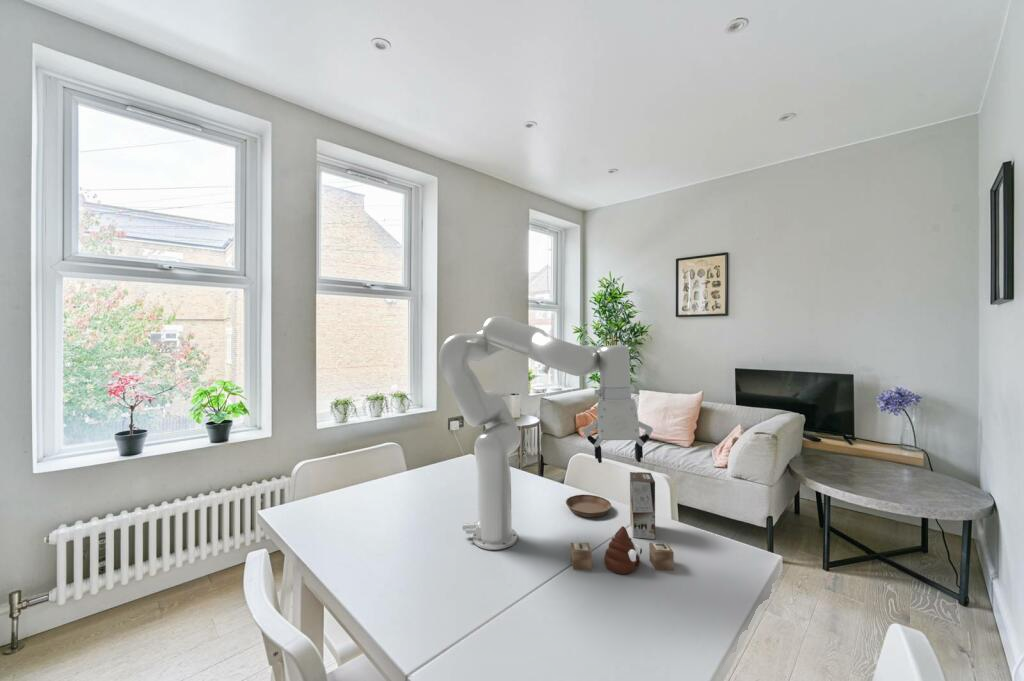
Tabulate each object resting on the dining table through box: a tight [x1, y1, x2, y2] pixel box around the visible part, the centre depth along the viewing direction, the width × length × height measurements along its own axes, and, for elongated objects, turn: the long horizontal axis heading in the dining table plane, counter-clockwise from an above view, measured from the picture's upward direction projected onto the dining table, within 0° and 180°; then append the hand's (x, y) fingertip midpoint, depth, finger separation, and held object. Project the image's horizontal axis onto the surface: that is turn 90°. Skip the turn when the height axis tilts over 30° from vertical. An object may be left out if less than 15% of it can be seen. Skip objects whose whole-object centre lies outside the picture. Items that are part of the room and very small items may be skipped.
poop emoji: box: [603, 526, 643, 575], centre depth 103 cm, size 10×8×9 cm
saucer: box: [565, 494, 612, 518], centre depth 137 cm, size 15×15×3 cm
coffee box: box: [629, 471, 656, 540], centre depth 121 cm, size 9×6×16 cm
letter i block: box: [570, 542, 592, 571], centre depth 104 cm, size 4×4×5 cm
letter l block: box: [648, 542, 675, 571], centre depth 103 cm, size 4×4×5 cm
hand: (618, 461), depth 105 cm, fingers open, 9 cm apart
